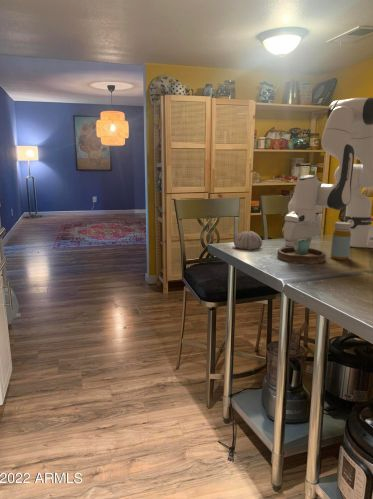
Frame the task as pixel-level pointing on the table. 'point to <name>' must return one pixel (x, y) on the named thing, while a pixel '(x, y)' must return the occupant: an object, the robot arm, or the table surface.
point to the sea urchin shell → (248, 240)
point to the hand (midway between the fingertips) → (301, 248)
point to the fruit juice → (290, 208)
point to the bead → (302, 247)
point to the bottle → (341, 241)
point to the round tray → (301, 256)
